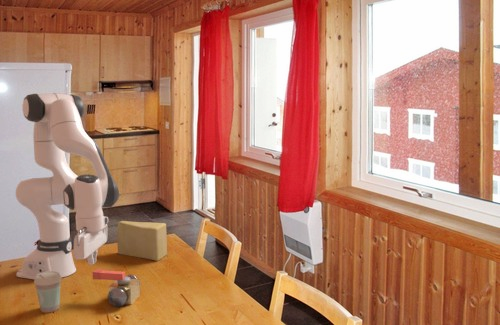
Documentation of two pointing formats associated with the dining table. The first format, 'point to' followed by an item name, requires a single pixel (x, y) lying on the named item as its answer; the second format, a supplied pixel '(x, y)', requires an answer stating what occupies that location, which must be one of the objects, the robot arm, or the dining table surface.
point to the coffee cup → (48, 290)
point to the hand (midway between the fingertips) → (92, 263)
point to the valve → (124, 292)
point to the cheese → (142, 239)
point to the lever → (111, 276)
